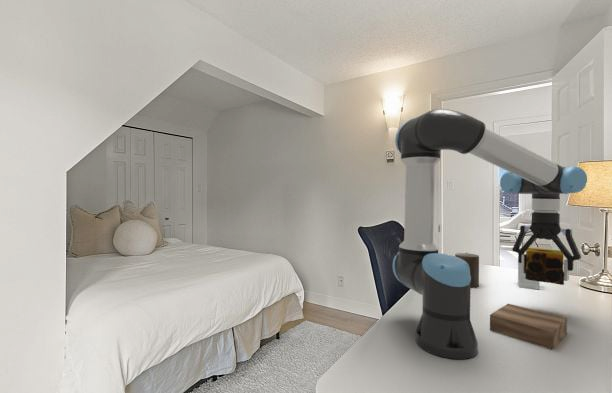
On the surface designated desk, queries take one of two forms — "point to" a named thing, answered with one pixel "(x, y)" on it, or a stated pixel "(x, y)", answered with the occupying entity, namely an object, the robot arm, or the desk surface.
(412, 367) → the desk surface
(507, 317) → the walnut block
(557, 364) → the desk surface
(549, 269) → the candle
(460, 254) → the pillar candle
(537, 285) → the supplement box
